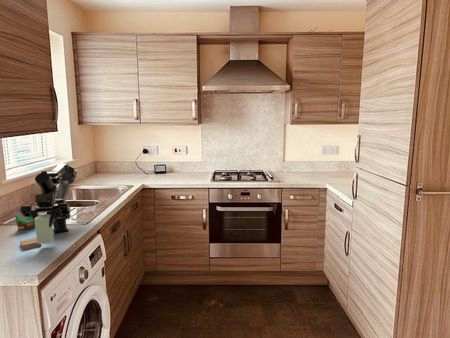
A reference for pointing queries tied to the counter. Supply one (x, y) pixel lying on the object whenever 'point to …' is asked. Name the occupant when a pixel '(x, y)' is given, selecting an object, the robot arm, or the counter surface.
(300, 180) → the counter surface
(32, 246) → the tan slab
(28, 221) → the food container
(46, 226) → the sage block
